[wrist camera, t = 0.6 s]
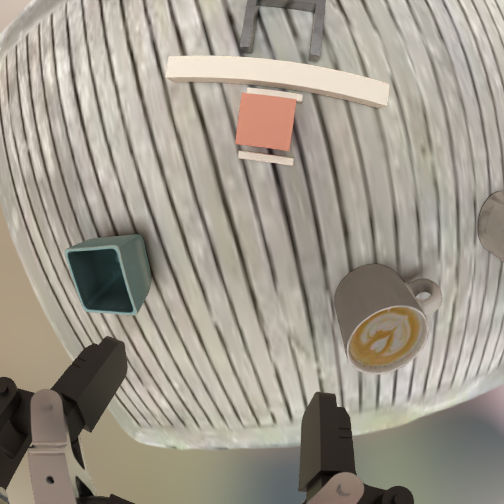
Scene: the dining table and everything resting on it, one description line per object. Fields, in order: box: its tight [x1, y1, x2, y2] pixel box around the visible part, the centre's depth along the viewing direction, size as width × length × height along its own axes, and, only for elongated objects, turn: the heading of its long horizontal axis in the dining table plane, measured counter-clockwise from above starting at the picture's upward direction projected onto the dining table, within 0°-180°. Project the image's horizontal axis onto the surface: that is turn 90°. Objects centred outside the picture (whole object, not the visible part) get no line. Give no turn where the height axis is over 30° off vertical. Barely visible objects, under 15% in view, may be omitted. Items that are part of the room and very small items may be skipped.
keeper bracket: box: [240, 0, 326, 62], centre depth 24 cm, size 8×8×2 cm
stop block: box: [235, 93, 296, 151], centre depth 26 cm, size 4×4×9 cm
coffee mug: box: [334, 264, 442, 374], centre depth 32 cm, size 13×10×10 cm
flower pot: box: [65, 234, 151, 315], centre depth 34 cm, size 9×9×9 cm
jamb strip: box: [165, 56, 389, 166], centre depth 28 cm, size 24×11×3 cm, turn 83°
